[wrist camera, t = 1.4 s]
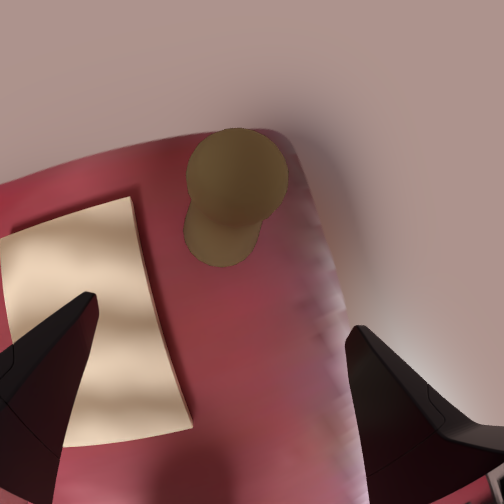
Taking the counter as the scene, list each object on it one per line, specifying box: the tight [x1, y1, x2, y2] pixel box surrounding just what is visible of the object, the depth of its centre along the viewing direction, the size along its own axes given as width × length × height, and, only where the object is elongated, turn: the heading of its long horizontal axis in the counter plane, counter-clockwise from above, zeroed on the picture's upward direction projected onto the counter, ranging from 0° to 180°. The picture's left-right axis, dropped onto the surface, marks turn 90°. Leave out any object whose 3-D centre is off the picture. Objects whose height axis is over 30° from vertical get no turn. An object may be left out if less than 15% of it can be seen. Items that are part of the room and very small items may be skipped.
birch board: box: [0, 196, 193, 447], centre depth 19 cm, size 18×13×2 cm
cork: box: [183, 128, 289, 267], centre depth 18 cm, size 6×6×11 cm
